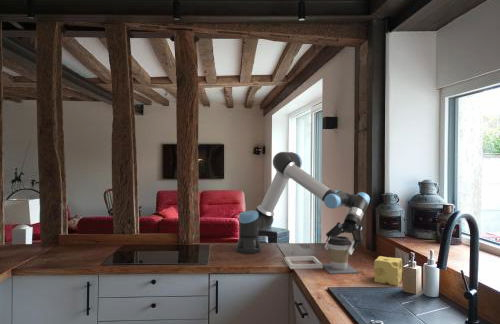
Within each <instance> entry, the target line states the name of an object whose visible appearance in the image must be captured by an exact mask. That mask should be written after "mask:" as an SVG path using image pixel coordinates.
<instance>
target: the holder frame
mask: <svg viewBox="0 0 500 324" xmlns="http://www.w3.org/2000/svg"><path fill="white" fill-rule="evenodd" d="M284 261H285V264H287V266H288V267H289V269H290V270H299V269H300V270H303V269H324V268H323V264H324V263H322V262H321V261H320V260H319V259H318V258H317V257H316V256H315V255H309V256H307V255H304V256H284ZM301 261H302V262H303V261H307V262H308V261H309V262H310V261H311V262H312V261H313V262H314V263H299V264H298V263H292V262H301Z"/></svg>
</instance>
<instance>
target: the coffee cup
mask: <svg viewBox="0 0 500 324" xmlns="http://www.w3.org/2000/svg"><path fill="white" fill-rule="evenodd" d="M328 243H329V253H330V264H331V265H332V268H333V269H337V270H345V269H346V268H347V264H349V263H348V262H349V255H350V254H349V253H348V250H349V248H350V246H351V244H352V242H351V240H350V239H349V237H347V236H343V235H342V236H341V235H338V236H333V237H332V236H331V237H330V240H328Z"/></svg>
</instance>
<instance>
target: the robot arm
mask: <svg viewBox="0 0 500 324" xmlns="http://www.w3.org/2000/svg"><path fill="white" fill-rule="evenodd" d="M272 165H273V168H274V170H275V171H276V173H275V175H274V177H273V179H272V181H271V183H270V185H269V187H268V189H267V191H266V194H264V197H263V200H262V201H261V204H260V205H257V206H256V208H255V210H244V211H241V212H240V213H239V215H238V239H237V242H236V243H237V244H236V246H235V252H237V253H241V254H257V253H260V252H261V251H262V246H261V243H260V240H259V231H263V230H267V229H268V228H270V227H271V226H272V225H273V223H274V216H275V213H274V211H275V208H276V206H277V204H278V203H279V199H280V198H281V195H282V194H283V192H284V190H285V189H286V186H287V183H288V182H289V180H290V179H291V180H292V181H294V182H295V183H297V184H298V185H299V186H301V187H302V188H304V189H306V190H307V191H308V192H310V193H311V194H312V195H314V196H315V197H316V198H318V199H320V200H321V201H322V202H324V205H325V206H326V207H327V208H328V209H337V208H340V207H344V208H345V207H346V208H349V210H348V211H347V214H346V216H345V217H344V220H343V223H341V222H340V221H338V222H337V223H336V225H334V227H332V228H331V229H329V231H327V232H326V233H325V236H326V237H327V238H326V240H325V242H326V244H325V245H324V248H325V250H326V251H329V250H330V248H329V243H328V240H330V237H333V236H340V235H341V234H344V233H346V234H351V235H352V237H353V241H352V242H351V244H350V248H349V250H348V253H349V255H350V256H352V254H353V252H354V251H355V250H356V249H357V246H358V245H359V244H363V243H364V242H363V241H364V240H363V226H362V225H361V224H360V223H361V221H362V219H363V216H364V214H365V213H366V211H367V208H368V206H369V204H370V200H371V198H370V196H369V194H368V193H366V192H362V191H361V192H359V191H358V193H356V194H352V193H348V192H345V191H342V190H337V189H335V190H332V189H331V188H329V187H328V186H327V185H325V184H323V183H322V182H321V181H319V180H318V179H316V178H315V177H313V176H312V175H310V174H309V173H307V172H306V171H304V170H303V169H302V165H303V160H302V158H301V156H300V155H299V154H298V153H296V152H293V151H288V152H287V151H280V152H278V153H276V154H275V155H274V156H273V158H272ZM355 231H357V234H356V232H355ZM357 236H358V237H357Z"/></svg>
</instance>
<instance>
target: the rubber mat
mask: <svg viewBox="0 0 500 324" xmlns="http://www.w3.org/2000/svg"><path fill="white" fill-rule="evenodd" d="M322 264H323V268H322V269H323V270H325V271H326V272H327V273H328V274H329V275H347V274H352V275H353V274H355V275H356V274H359V271H358V270H356V269H355V268H354V267H352V266H351V265H350V264H349V263H347V268H346V269H345V270H337V269H333V268H332V265H331V263H322Z"/></svg>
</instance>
